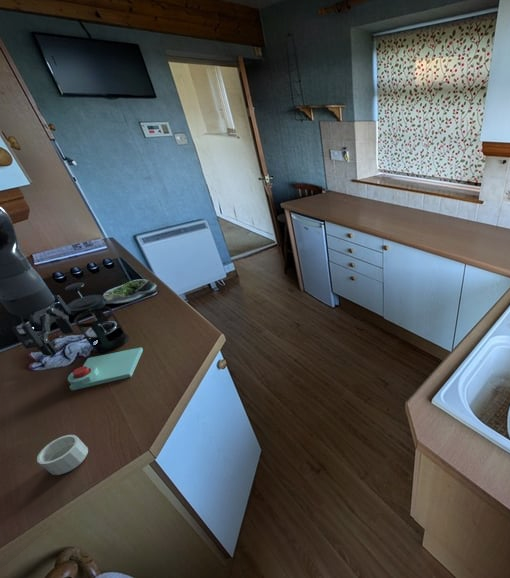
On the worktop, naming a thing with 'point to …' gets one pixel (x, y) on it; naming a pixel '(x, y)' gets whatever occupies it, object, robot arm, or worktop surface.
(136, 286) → the salad plate
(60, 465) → the bowl
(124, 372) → the scale
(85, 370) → the tare button
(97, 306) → the french press
